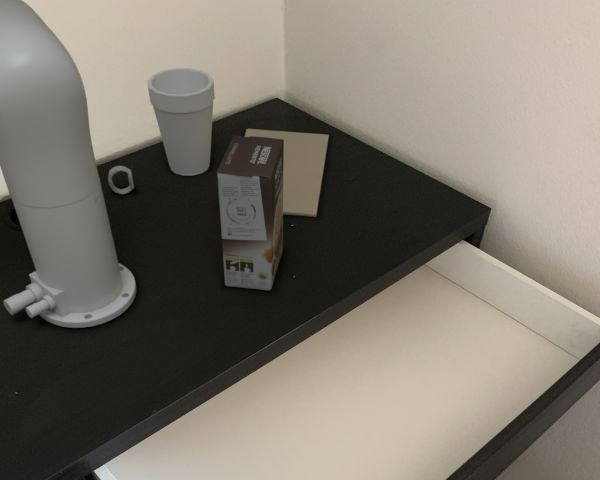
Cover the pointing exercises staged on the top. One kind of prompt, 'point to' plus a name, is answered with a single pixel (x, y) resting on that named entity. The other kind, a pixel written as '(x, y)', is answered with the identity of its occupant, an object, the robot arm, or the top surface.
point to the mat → (300, 169)
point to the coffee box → (251, 210)
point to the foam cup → (184, 117)
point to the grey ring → (130, 178)
